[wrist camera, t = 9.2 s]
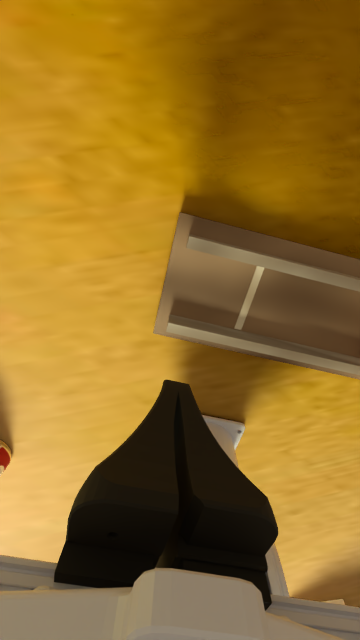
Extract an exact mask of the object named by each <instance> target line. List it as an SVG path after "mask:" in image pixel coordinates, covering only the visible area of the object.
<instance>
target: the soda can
mask: <svg viewBox="0 0 360 640" xmlns="http://www.w3.org/2000/svg"><path fill="white" fill-rule="evenodd" d="M10 461H11V450H10V448H9V447H8V445H7V444H6V443H4V442H3V441H1V440H0V476H1V474H2V473H3V472H4V470H5V469H6V467H7V466H8V465H9V463H10Z"/></svg>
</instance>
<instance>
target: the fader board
mask: <svg viewBox="0 0 360 640" xmlns="http://www.w3.org/2000/svg"><path fill="white" fill-rule="evenodd" d="M153 333H154V334H159V335H163V336H168V337H172V338H177V339H181V340H186V341H190V342H195V343H199V344H203V345H208V346H212V347H217V348H221V349H226V350H230V351H235V352H239V353H244V354H248V355H253V356H257V357H262V358H266V359H271V360H275V361H280V362H284V363H289V364H293V365H298V366H302V367H306V368H311V369H315V370H320V371H324V372H329V373H333V374H338V375H342V376H347V377H351V378H356V379H360V259H356V258H352V257H348V256H345V255H341V254H337V253H333V252H329V251H326V250H322V249H318V248H314V247H310V246H307V245H303V244H299V243H295V242H291V241H288V240H284V239H280V238H276V237H272V236H268V235H265V234H261V233H257V232H253V231H249V230H246V229H242V228H238V227H234V226H230V225H227V224H223V223H219V222H215V221H211V220H208V219H204V218H200V217H196V216H192V215H188V214H185V213H181V212H180V214H179V219H178V223H177V228H176V232H175V237H174V241H173V246H172V250H171V255H170V259H169V264H168V268H167V273H166V277H165V282H164V286H163V291H162V296H161V300H160V305H159V309H158V314H157V318H156V323H155V327H154V332H153Z"/></svg>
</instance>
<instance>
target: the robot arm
mask: <svg viewBox="0 0 360 640" xmlns="http://www.w3.org/2000/svg"><path fill="white" fill-rule="evenodd" d="M238 430H240V431H238ZM244 430H245V425H244V424H243V423H240V422H235V421H230V420H225V419H220V418H215V417H210V416H205V415H202V414H201V412H200V410H199V408H198V406H197V403H196V401H195V398H194V396H193V393H192V391H191V388H190V386H189V384H185V383H181V382H176V381H171V380H164V382H163V386H162V390H161V392H160V394H159V396H158V398H157V400H156V402H155V404H154V405H153V407H152V409H151V410H150V412H149V413H148V415H147V416H146V417H145V419H144V420H143V421H142V423H141V424H140V425H139V426H138V428H137V429H136V430H135V431H134V432H133V433H132V435H131V436H130V437H129V438H128V439H127V440H126V441H125V442H124V443H123V444H122V445H121V446H120V447H119V448H118V449H116V450H115V451H114V452H113V453H112V454H111V455H110V456H109V457H107V458H106V459H105V460H104V461H102V462H101V463H100V464H99V465H97V466H96V467H95V468H94V470H93V471H92V473H91V474H90V475H89V477H88V478H87V480H86V481H85V483H84V484H83V486H82V487H81V489H80V491H79V493H78V495H77V497H76V499H75V501H74V503H73V506H72V509H71V512H70V515H69V518H68V525H67V535H66V542H65V544H64V547H63V550H62V553H61V556H60V558H59V561H58V563H52V562H45V561H38V560H31V559H24V558H17V557H10V556H4V555H0V640H360V607H354V606H348V605H341V604H334V603H327V602H320V601H313V600H306V599H299V598H293V597H289V593H288V589H287V585H286V581H285V577H284V573H283V570H282V566H281V562H280V559H279V556H278V552H277V549H276V546H275V544H274V542H275V540H276V538H277V536H278V527H277V524H276V520H275V517H274V514H273V511H272V508H271V506H270V503H269V501H268V498H267V497H266V496H265V495H264V494H263V493H262V492H261V491H260V490H259V489H258V488H257V487H256V486H255V485H254V484H253V483H252V482H251V481H250V480H249V479H248V478H247V477H246V476H245V475H244V474H243V473H242V472H241V471H240V470H239V468H238V463H237V458H236V454H235V450H236V447H237V445H238V443H239V441H240V439H241V437H242V434H243V432H244Z"/></svg>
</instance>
